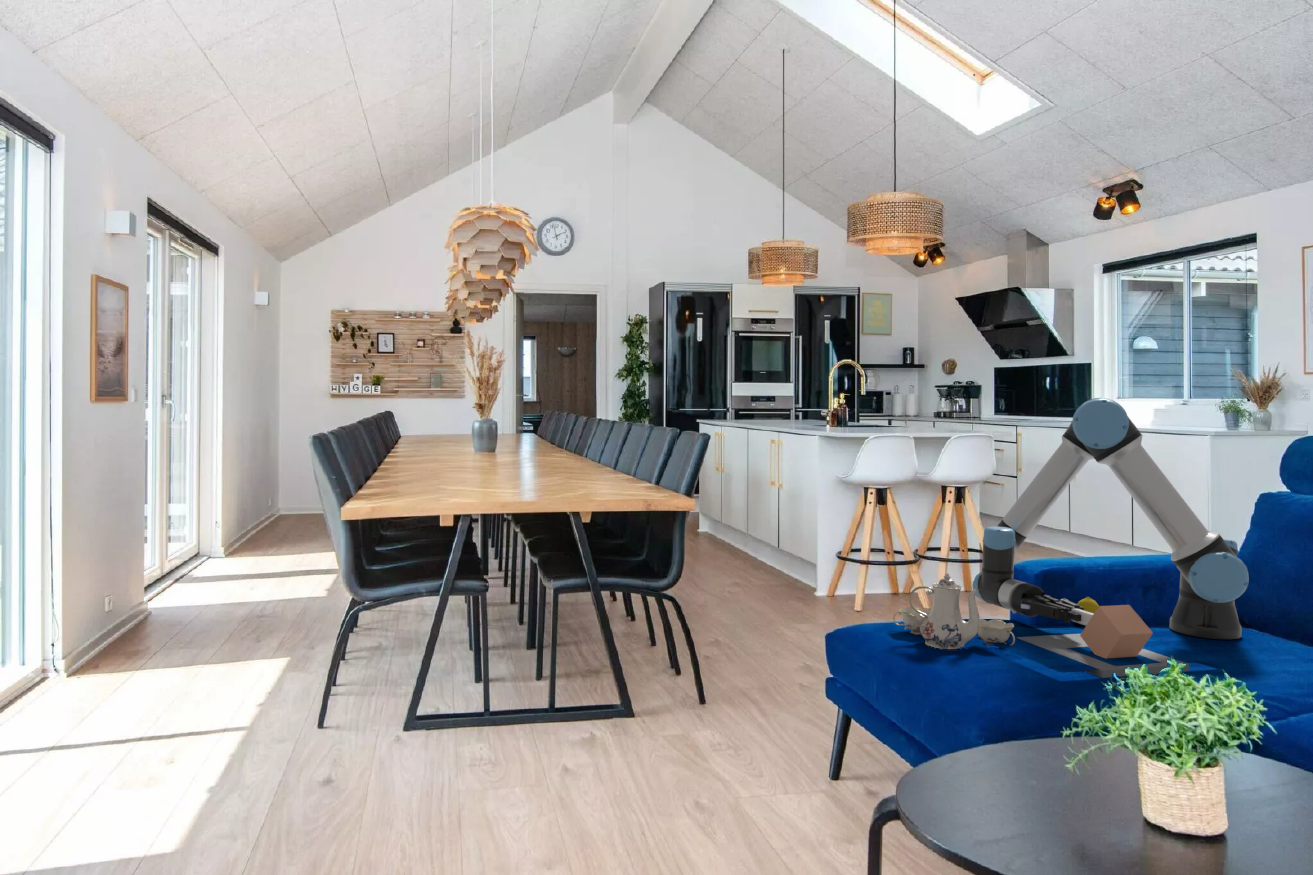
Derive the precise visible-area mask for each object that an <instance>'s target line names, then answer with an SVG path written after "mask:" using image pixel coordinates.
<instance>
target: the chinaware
mask: <svg viewBox="0 0 1313 875" xmlns="http://www.w3.org/2000/svg"><path fill="white" fill-rule="evenodd" d="M931 586H932V587H930V586H927V585H920V586H917V587H915V588H913V589H912V591H910V592H909V593H910V594H909V596H908V598H909V599H908V601H909V605H910V606H907V607H906V608H903V607H900V608H899V609H898V611H897V612H896V613H894V614H893V622H894V624H895V625H897V626H905V627H904V630H905V631H906V630H908V629H909V630H911V631H910V632H909V633H910V634H913V635H915V636H916V635H921V636H922V638H923V639H924V640H925V642H924V645H926V646H927V647H929V646H931V647H930V648H932V647H934V648H933V649H936V648H939V650H943V649H957V648H960V647H963V646H964V645H965V644H966V643H968V642H969V641H971V639H973V638H974V637H976V636H977V635H978V637H979V638H980V639H981V640H982V642H984V643H986V644H987V645H989V646H998V645H997V644H996V643H1000V644H1001V643H1003V644H1006V645H1007V644H1008V643H1007V641H1008V639H1009V637H1010V635H1011V636H1012V642H1011V644H1009V645H1010V646H1013V645H1014V644H1015V642H1016V637H1015V635H1014V633H1013V632H1012V630H1013V629H1014V627H1015V623H1012V622H1009V623H1006V622H1004V620H1002V619H1001V620H1000V619H998V618H997V619H996V618H995V619H994V618H993V619H990V620H987V619H984V618H981V617H980V612H979V610H978V605H977V602H976V593H977V592H978V591H979V589H974V590H973V589H972V590H971V591H970V592H969V593H968V596H967V597H968V598H967V605H968V621H965V620H964V619H963V617H962V614H961V613H962V612H961V609H960V594H961V590H962V588H963V586H962V585H960V584H956V582H955V580H953V579H952V577H951V576H950V574H949V573H947V572H946V573H945V574H944V576H943V578H941V579H939V581H938V582H934V583H931ZM920 589H921V590H922V589H928V590H927V591H926V595H927V596H931V595H932V594H933V600H932V606H931V608H922V609H921V608H919V607H916V606H915V605H914V602H913V595H914V593H916V591H918V590H920ZM897 614H898V615H899V616H902V617H901V618H902V621H903V623H897V621H896V620H895V617H896V615H897ZM994 643H995V644H994ZM964 647H965V646H964Z"/></svg>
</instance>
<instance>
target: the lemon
mask: <svg viewBox="0 0 1313 875" xmlns="http://www.w3.org/2000/svg"><path fill="white" fill-rule="evenodd" d="M1076 604H1077V605H1080V606H1082V607H1084V611H1087V612H1090V613H1095V611H1096V610H1097V608H1098V607H1099V606H1100V605H1099V604H1098V603H1097V601H1096V600H1094V599H1093V598H1091V597H1089V596H1086V597H1085V598H1083V599H1081V600H1079V601H1078V602H1077V603H1076ZM1078 624H1079V625H1083V624H1080V623H1078ZM1083 626H1084V625H1083Z"/></svg>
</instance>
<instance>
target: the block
mask: <svg viewBox="0 0 1313 875" xmlns="http://www.w3.org/2000/svg"><path fill="white" fill-rule="evenodd" d="M1080 634H1081V635H1080V636H1081V637H1082V639H1083V640H1084V641H1085V643H1086V644H1087V645H1088V646H1089V647H1088V648H1089V649H1090V650H1091V652H1092V653H1093V654H1094V655H1096V656H1098V657H1100V658H1103V659H1118V658H1120V659H1121V658H1133V657H1136V658H1137V657H1138V656H1139V655H1138V654H1139V652H1140V651H1141V650H1142V648H1143V649H1144V647H1145V645H1146V644H1147V643H1148V641H1149V640H1150V638H1151V637H1152V635H1153V631H1152V629H1151V628H1149V626H1148V625H1147V624H1146V623H1145V622H1144V621H1143V619H1142V617H1141V616H1140V615H1139V614H1138V613H1137V612H1136V611H1135V610H1134V609H1133V607H1132V606H1131V605H1130V604H1118V605H1117V604H1115V605H1099V607H1098V608H1097V610H1096V611H1095V613H1094V614H1093V616H1092V618H1091V619H1090V621H1089V622H1088V624H1087V625H1085V627H1084V628H1083V630H1082V631H1081V633H1080Z"/></svg>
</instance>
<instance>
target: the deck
mask: <svg viewBox="0 0 1313 875" xmlns="http://www.w3.org/2000/svg"><path fill="white" fill-rule="evenodd" d="M1080 635H1081V633H1069V634H1068V633H1067V634H1052V635H1051V634H1049V635H1047V634H1046V635H1033V636H1020V637H1019V636H1016V637H1015V639H1016V638H1017V639H1018V640H1021V641H1023V642H1025V643H1029V644H1031V645H1033V646H1037V647H1039V648H1042V649H1044V650H1047V651H1050V652H1053V653H1055V654H1058V655H1060V656H1063V657H1066V658H1068V659H1071V660H1073V661H1077V662H1079V663H1082V664H1084V665H1086V666H1090V667H1092V668H1094V669H1088V670H1087V669H1085V670H1083V671H1084V672H1086V673H1089V674H1091V673H1092V674H1091V675H1094V676H1097V677H1098V678H1102V679H1105V678H1108V679H1109V678H1113V677H1112V673H1116V674H1117V675H1118V676H1119V677H1126V676H1125V667H1130V668H1139V667H1140V666H1141V665H1142V664H1143V663H1141V664H1129V665H1128V664H1127V665H1113V664H1110V663H1108V662H1105V661H1102V660H1100V659H1097V658H1095V657H1092V656H1089V655H1086V654H1084V653H1082V652H1081V653H1080V652H1077V651H1076V650H1072V649H1073V648H1074V649H1075V648H1086V647H1087V648H1089V646H1088V645H1087V644H1086V643H1085V641H1084V640H1083V639H1082V637H1081V636H1080ZM1137 656H1140V657H1144V658H1146V659H1149V660H1152V661H1155V663H1152V662H1151V663H1147V664H1148V669H1149V672H1150V673H1152V674H1151V675H1156V674H1157V675H1158V674H1159V675H1160V673H1159V672H1160V671H1161V670H1162V669H1164V668H1167V659H1170V658H1171V657H1169V656H1166V655H1164V654H1160V653H1157V652H1154V651H1152V650H1148V649H1146V648H1144V647H1143V648H1142V650H1141V651H1140V652H1139V654H1138V655H1137ZM1176 660H1177V661H1179V662H1180V663H1183V664H1186V666H1185V667H1184V668H1183V673H1184V672H1189V671H1190V669H1189V668H1190V663H1188V662H1185V661H1182V660H1178V659H1176ZM1123 673H1124V674H1123Z"/></svg>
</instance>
